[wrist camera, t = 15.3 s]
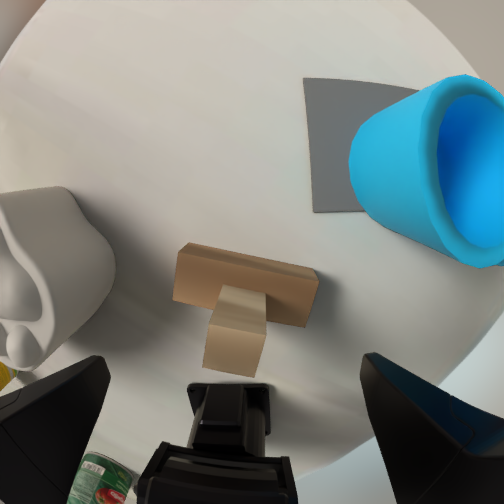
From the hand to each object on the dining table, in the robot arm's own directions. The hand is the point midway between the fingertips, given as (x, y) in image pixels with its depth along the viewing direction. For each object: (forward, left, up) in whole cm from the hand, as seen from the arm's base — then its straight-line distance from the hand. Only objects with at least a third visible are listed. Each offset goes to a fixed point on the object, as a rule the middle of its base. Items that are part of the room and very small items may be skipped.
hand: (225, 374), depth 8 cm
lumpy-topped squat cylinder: (+1, +16, -10) cm, 19 cm away
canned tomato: (-29, +22, -10) cm, 38 cm away
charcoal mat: (+8, -11, -10) cm, 17 cm away
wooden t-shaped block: (-1, 0, -10) cm, 10 cm away
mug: (+5, -12, -10) cm, 17 cm away
